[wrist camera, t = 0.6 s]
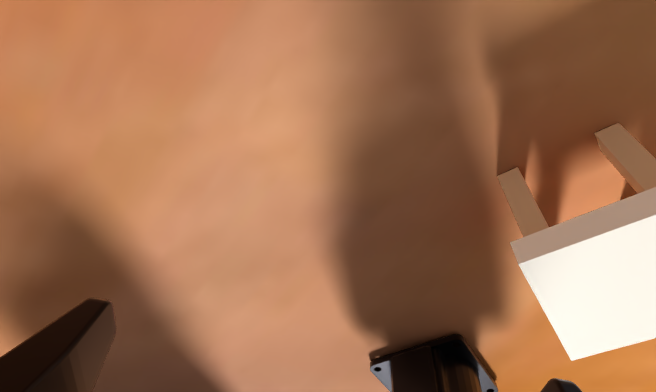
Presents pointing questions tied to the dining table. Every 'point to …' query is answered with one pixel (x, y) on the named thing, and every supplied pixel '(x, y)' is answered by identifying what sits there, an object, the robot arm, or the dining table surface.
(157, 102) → the dining table surface
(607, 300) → the stool
